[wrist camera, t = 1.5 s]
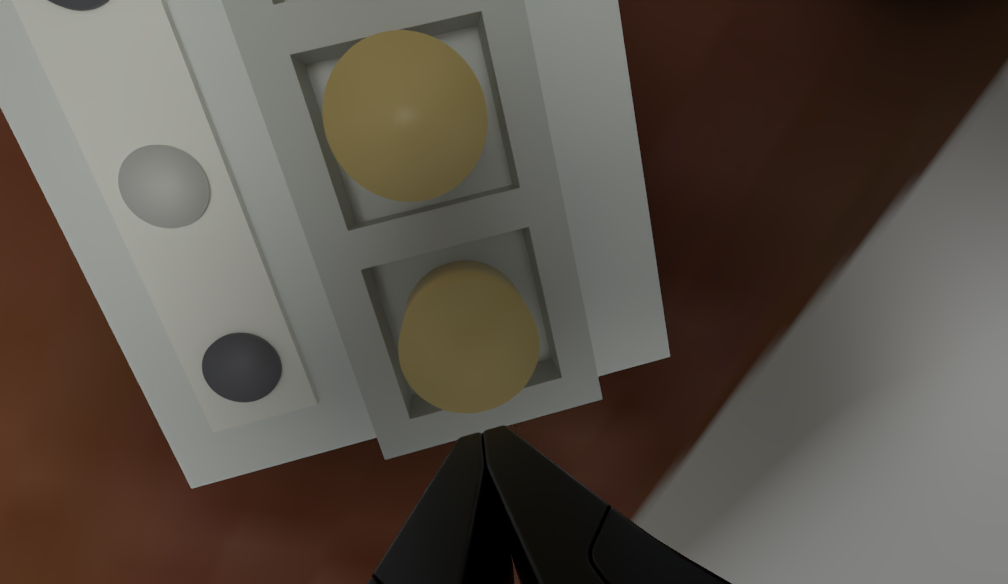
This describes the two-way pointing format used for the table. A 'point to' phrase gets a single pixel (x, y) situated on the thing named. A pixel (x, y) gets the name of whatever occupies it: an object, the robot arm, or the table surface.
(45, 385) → the table surface
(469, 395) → the button
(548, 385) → the board
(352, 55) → the button mid
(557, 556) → the robot arm
